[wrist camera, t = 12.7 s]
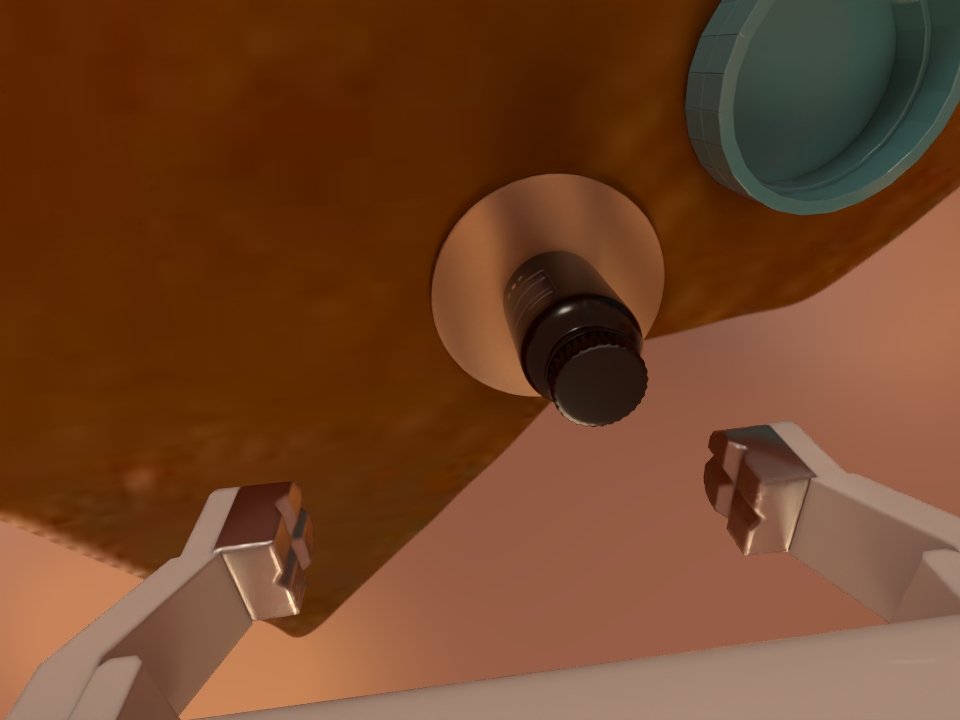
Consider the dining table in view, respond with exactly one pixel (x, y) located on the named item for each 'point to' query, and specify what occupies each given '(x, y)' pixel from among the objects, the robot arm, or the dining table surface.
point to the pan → (821, 96)
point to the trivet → (521, 235)
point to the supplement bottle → (575, 338)
